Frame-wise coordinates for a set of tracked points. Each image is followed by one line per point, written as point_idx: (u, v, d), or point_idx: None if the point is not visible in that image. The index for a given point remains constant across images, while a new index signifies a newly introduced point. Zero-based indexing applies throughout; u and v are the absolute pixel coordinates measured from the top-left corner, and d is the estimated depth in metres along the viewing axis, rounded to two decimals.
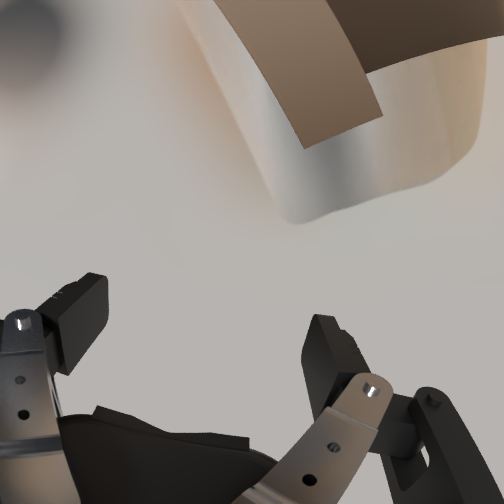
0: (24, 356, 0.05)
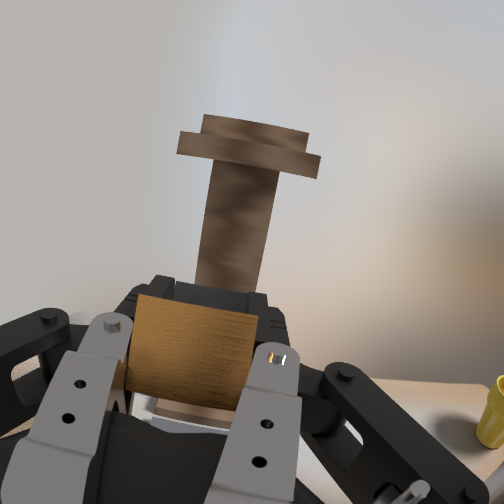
0: (95, 361, 0.05)
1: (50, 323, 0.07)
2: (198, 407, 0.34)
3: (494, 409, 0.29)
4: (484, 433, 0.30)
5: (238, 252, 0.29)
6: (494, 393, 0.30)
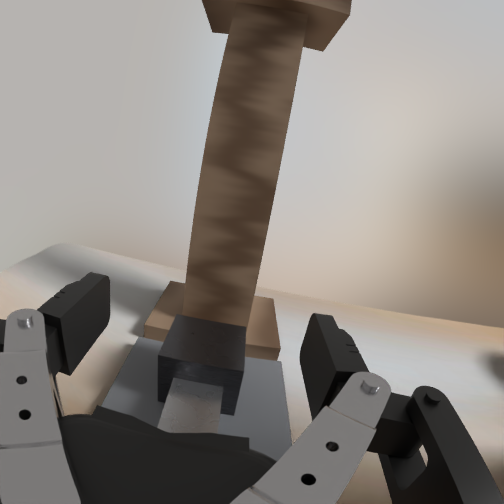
0: (26, 356, 0.05)
1: None
2: None
3: None
4: None
5: (264, 92, 0.21)
6: None
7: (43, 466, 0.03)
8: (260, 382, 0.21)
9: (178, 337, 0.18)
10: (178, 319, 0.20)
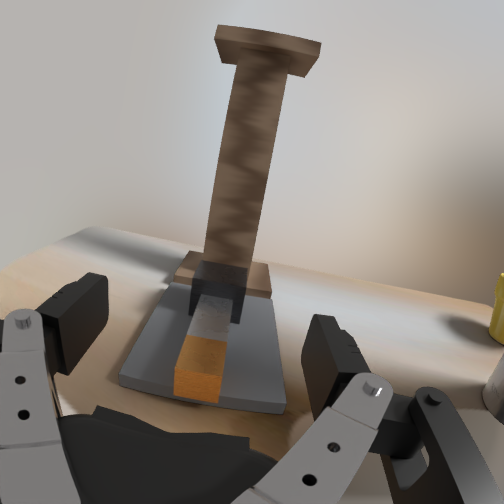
0: (24, 356, 0.05)
1: None
2: None
3: (503, 297, 0.34)
4: (498, 328, 0.35)
5: (259, 114, 0.33)
6: (500, 283, 0.35)
7: (42, 466, 0.03)
8: (257, 309, 0.33)
9: (204, 270, 0.30)
10: (202, 262, 0.32)
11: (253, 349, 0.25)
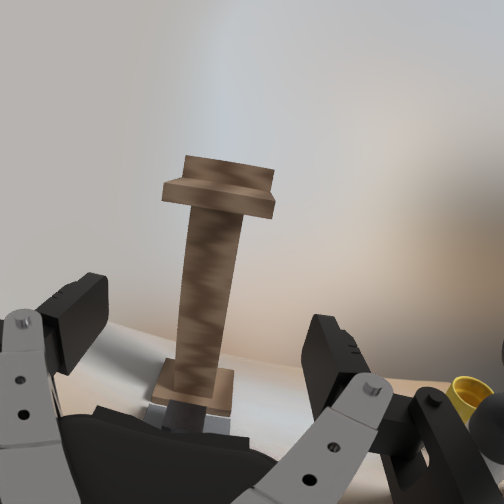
0: (24, 356, 0.05)
1: None
2: (186, 396, 0.42)
3: None
4: None
5: (213, 274, 0.37)
6: (449, 392, 0.39)
7: (43, 466, 0.03)
8: (216, 432, 0.37)
9: (171, 414, 0.34)
10: (170, 403, 0.35)
11: None
